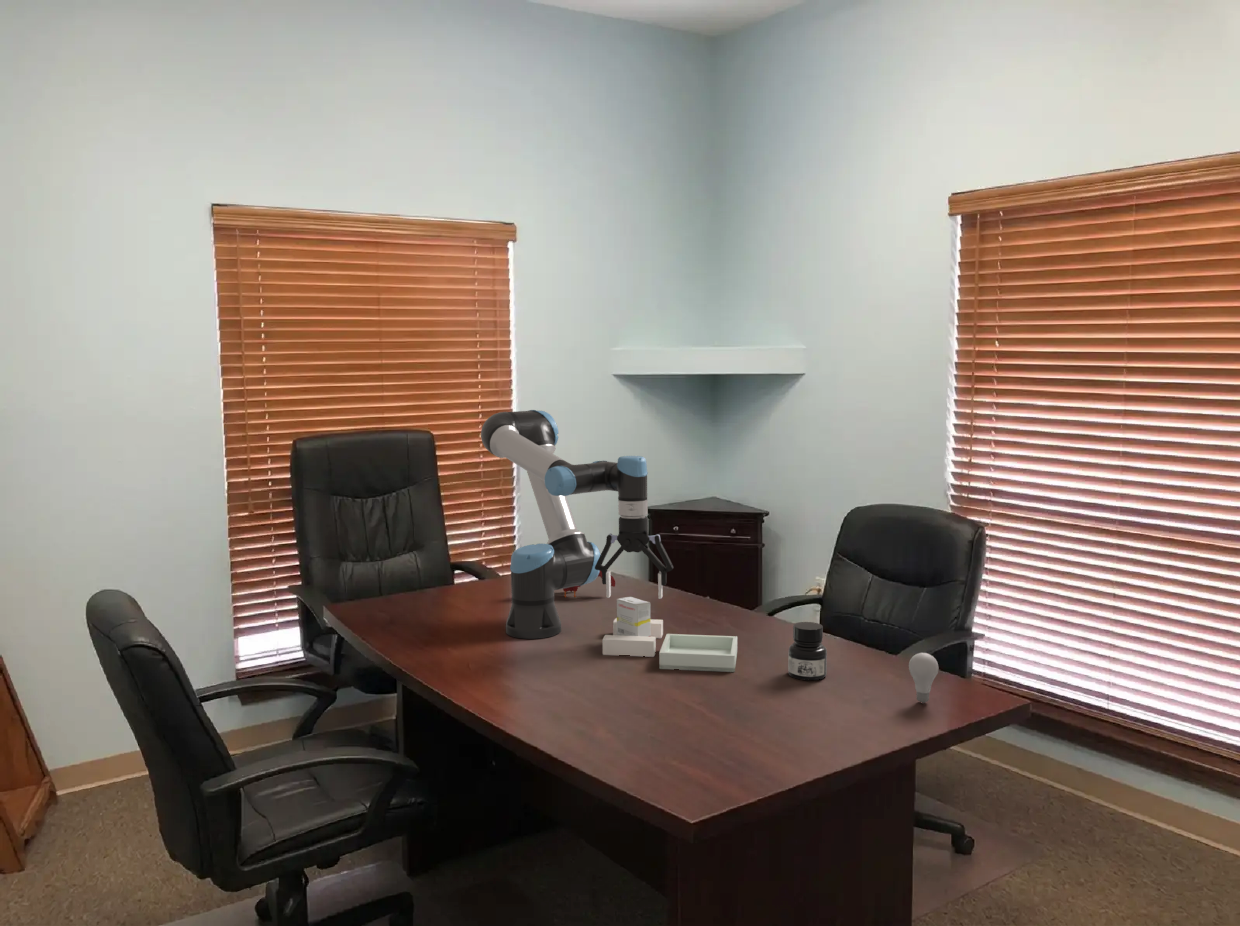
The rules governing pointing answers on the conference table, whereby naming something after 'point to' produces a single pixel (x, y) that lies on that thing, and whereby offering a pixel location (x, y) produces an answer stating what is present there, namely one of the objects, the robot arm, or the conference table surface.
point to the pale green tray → (698, 652)
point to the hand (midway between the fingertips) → (634, 597)
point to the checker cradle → (633, 641)
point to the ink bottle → (807, 652)
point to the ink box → (633, 617)
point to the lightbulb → (923, 674)
